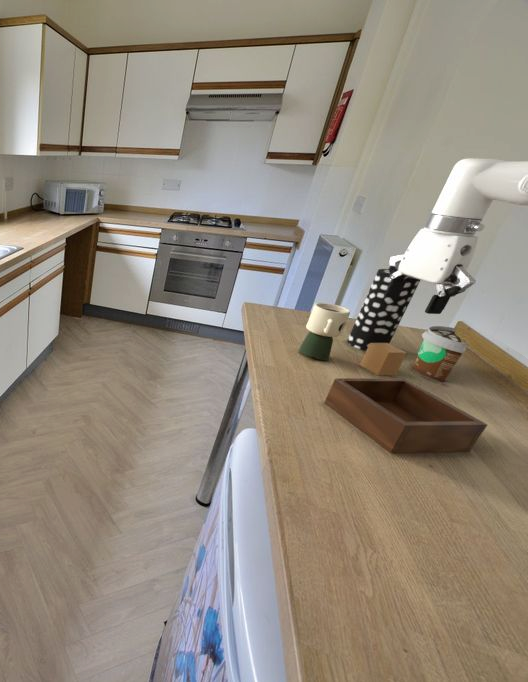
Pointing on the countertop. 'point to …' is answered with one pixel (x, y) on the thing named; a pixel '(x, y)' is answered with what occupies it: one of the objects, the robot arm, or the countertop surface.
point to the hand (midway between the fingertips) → (410, 304)
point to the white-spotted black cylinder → (381, 312)
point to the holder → (403, 415)
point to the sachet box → (383, 358)
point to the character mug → (323, 329)
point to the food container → (439, 352)
